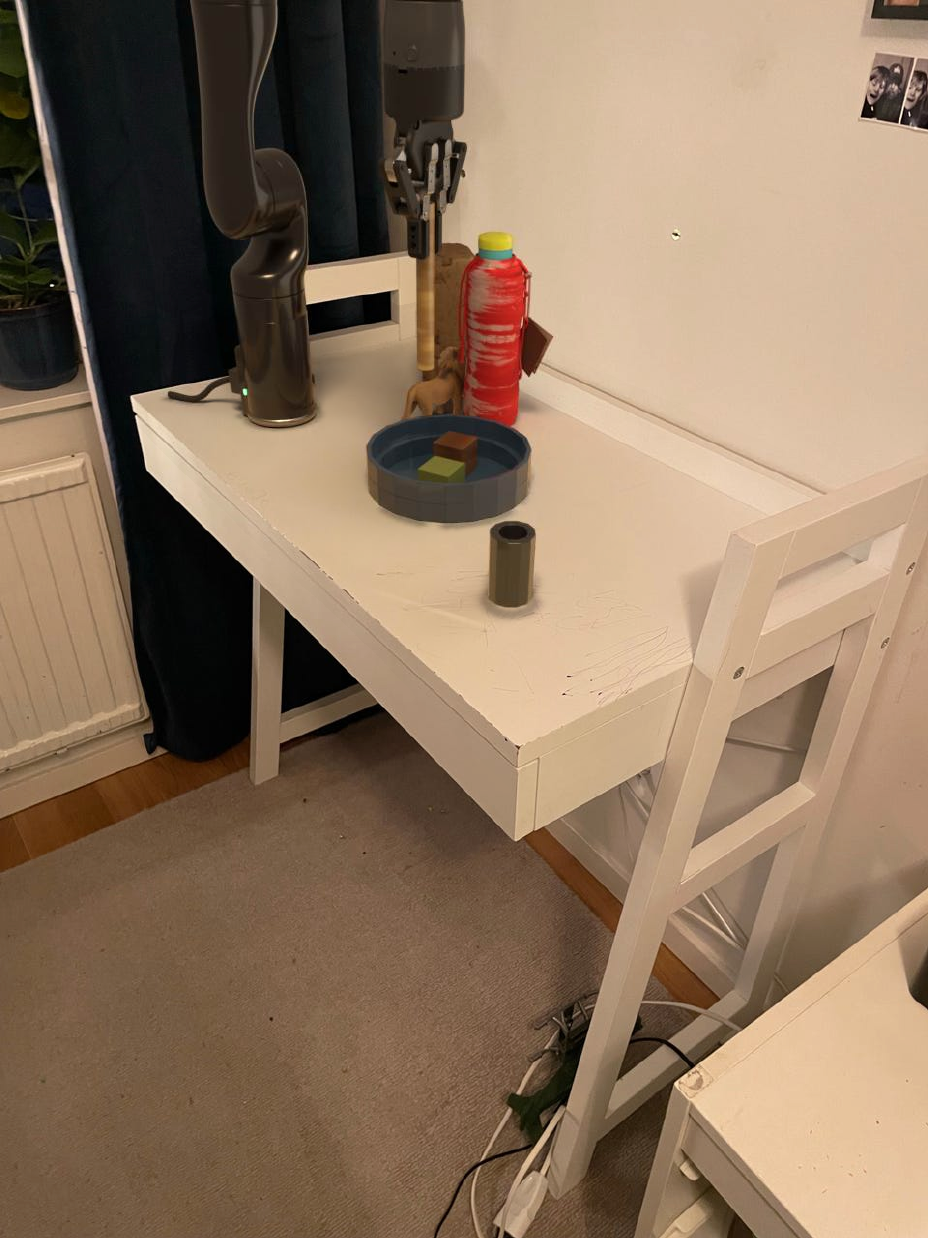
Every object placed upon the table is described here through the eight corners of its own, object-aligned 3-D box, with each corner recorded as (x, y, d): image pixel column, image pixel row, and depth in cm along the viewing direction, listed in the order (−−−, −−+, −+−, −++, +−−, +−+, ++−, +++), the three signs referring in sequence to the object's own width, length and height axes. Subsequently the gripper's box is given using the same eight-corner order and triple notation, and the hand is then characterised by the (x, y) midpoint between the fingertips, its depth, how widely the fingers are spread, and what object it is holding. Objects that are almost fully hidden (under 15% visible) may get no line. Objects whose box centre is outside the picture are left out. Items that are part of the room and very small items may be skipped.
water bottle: (535, 410, 132) (546, 223, 118) (550, 433, 126) (564, 238, 112) (452, 416, 130) (452, 226, 116) (463, 440, 124) (465, 242, 110)
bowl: (337, 503, 109) (334, 460, 106) (420, 442, 123) (419, 403, 120) (482, 544, 102) (483, 500, 99) (553, 475, 116) (556, 434, 113)
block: (479, 399, 135) (482, 256, 124) (428, 403, 134) (426, 258, 122) (463, 372, 144) (464, 236, 132) (415, 376, 143) (412, 238, 131)
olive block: (418, 500, 109) (417, 468, 106) (435, 486, 112) (435, 455, 109) (448, 508, 107) (448, 476, 105) (464, 493, 110) (465, 462, 108)
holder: (480, 606, 93) (482, 536, 88) (500, 585, 96) (502, 516, 91) (519, 618, 91) (523, 547, 86) (538, 596, 94) (542, 527, 89)
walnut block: (433, 472, 114) (433, 442, 112) (449, 460, 117) (449, 430, 115) (462, 479, 113) (462, 449, 111) (477, 467, 116) (477, 437, 113)
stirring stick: (413, 368, 102) (411, 202, 92) (422, 363, 104) (421, 198, 94) (428, 372, 102) (428, 205, 92) (437, 366, 103) (438, 201, 93)
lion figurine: (442, 401, 134) (442, 339, 129) (476, 408, 132) (477, 346, 127) (390, 440, 123) (388, 374, 118) (426, 448, 121) (425, 381, 116)
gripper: (426, 50, 92) (427, 235, 102) (347, 61, 82) (356, 265, 92) (494, 55, 89) (488, 245, 99) (420, 67, 79) (421, 277, 89)
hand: (424, 254), depth 96 cm, fingers closed on stirring stick, 2 cm apart
